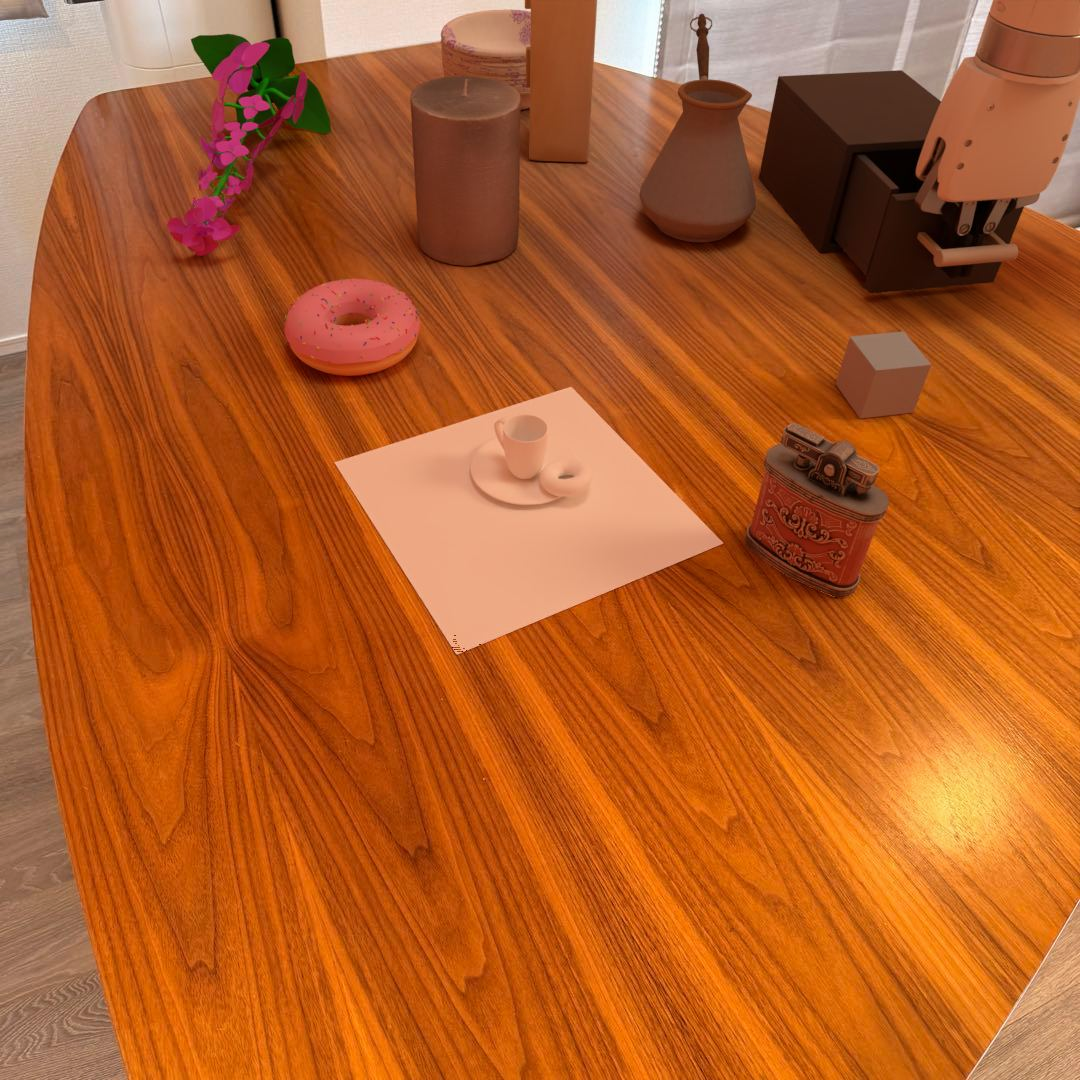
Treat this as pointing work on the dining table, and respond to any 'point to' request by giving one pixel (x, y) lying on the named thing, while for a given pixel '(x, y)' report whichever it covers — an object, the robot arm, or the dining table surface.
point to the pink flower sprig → (244, 123)
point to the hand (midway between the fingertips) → (951, 269)
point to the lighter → (816, 511)
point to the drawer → (907, 229)
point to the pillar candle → (466, 168)
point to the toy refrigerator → (560, 78)
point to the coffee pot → (702, 161)
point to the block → (882, 374)
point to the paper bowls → (489, 47)
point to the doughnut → (352, 326)
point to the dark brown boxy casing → (836, 138)
